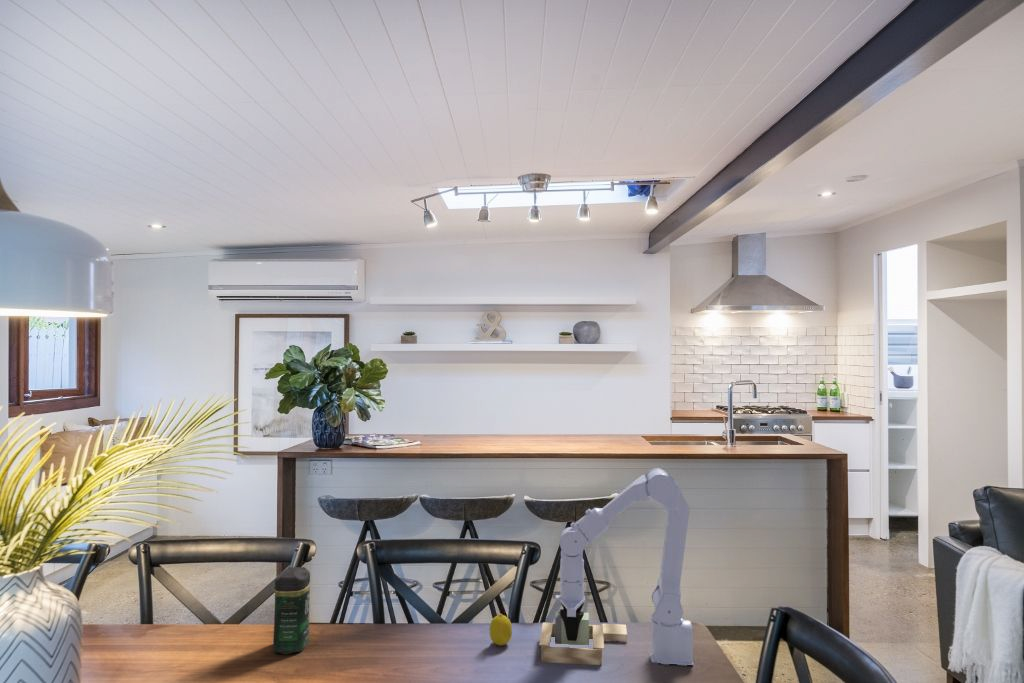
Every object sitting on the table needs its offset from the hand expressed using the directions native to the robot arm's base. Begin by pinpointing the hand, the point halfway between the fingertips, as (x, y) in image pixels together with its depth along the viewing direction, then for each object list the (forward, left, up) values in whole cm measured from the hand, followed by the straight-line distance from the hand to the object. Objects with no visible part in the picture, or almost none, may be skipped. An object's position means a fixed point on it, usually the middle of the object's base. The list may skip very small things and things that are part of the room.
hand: (572, 635), depth 159 cm
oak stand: (-10, -9, -4) cm, 14 cm away
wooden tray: (0, 0, -4) cm, 4 cm away
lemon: (+18, -1, -4) cm, 18 cm away
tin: (0, 0, -1) cm, 1 cm away
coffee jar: (+69, +5, -4) cm, 69 cm away
